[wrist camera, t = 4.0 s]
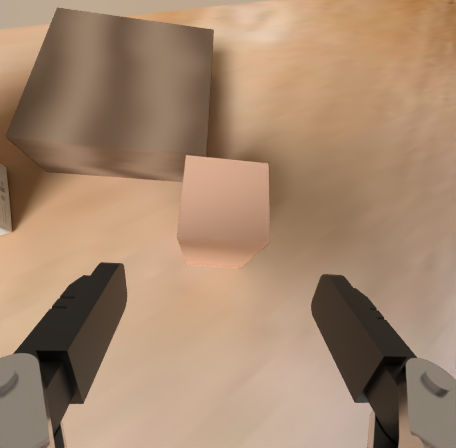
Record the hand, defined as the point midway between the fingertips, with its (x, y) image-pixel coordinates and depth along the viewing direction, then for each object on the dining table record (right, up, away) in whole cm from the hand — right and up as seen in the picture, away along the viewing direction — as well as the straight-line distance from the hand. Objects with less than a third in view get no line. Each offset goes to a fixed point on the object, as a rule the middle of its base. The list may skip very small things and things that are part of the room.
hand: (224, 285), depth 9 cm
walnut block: (-9, +13, +14) cm, 21 cm away
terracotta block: (-1, +1, +11) cm, 11 cm away
